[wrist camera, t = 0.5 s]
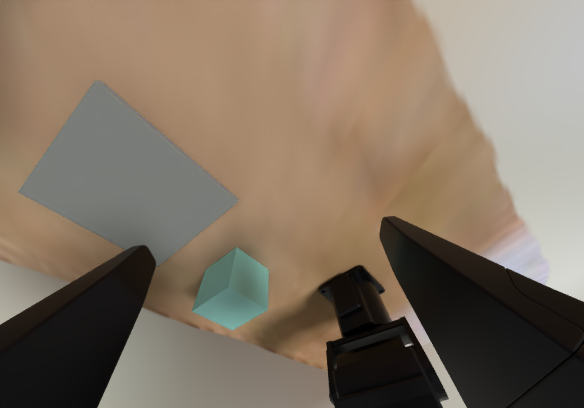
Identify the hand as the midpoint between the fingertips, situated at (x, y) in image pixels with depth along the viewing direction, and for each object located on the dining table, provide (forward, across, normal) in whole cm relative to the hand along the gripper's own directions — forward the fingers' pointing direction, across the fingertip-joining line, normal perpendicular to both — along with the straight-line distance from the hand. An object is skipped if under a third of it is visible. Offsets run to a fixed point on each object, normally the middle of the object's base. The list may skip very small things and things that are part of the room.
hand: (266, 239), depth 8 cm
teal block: (+11, +6, +13) cm, 18 cm away
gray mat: (+10, +12, +2) cm, 16 cm away
